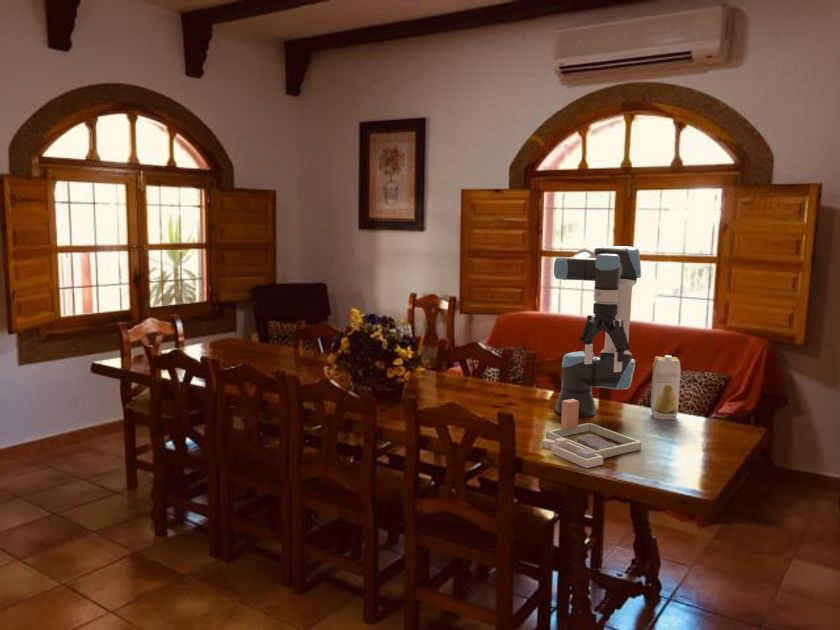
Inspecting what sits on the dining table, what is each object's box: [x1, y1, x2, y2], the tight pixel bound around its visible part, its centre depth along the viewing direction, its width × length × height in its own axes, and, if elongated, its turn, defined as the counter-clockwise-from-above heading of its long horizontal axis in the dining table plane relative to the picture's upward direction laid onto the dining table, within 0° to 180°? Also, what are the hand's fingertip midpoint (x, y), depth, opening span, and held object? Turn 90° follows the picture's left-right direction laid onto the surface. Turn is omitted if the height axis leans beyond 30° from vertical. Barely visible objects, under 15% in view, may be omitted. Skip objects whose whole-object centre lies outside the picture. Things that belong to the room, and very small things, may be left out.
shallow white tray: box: [545, 399, 643, 459], centre depth 240 cm, size 25×20×12 cm
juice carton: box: [650, 354, 682, 421], centre depth 271 cm, size 9×8×24 cm
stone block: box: [576, 434, 618, 450], centre depth 235 cm, size 12×5×10 cm
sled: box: [551, 438, 604, 469], centre depth 227 cm, size 17×7×4 cm, turn 31°
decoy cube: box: [576, 448, 595, 459], centre depth 223 cm, size 4×4×4 cm
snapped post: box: [541, 437, 555, 449], centre depth 238 cm, size 5×2×2 cm, turn 53°
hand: (602, 367), depth 234 cm, fingers open, 13 cm apart
